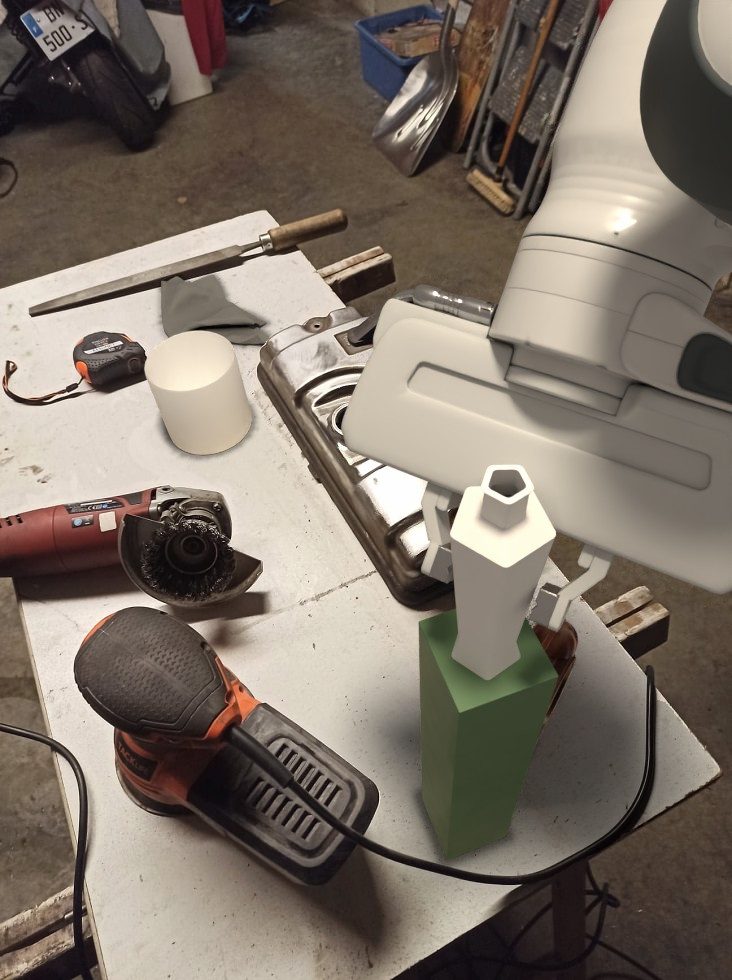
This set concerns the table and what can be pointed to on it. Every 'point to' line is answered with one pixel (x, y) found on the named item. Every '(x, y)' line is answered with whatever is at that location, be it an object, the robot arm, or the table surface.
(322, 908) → the table surface
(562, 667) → the brown ribbed piece
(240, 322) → the cloth
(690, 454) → the robot arm
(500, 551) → the white faceted bottle
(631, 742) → the table surface
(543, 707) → the block
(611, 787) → the table surface
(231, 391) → the cup
